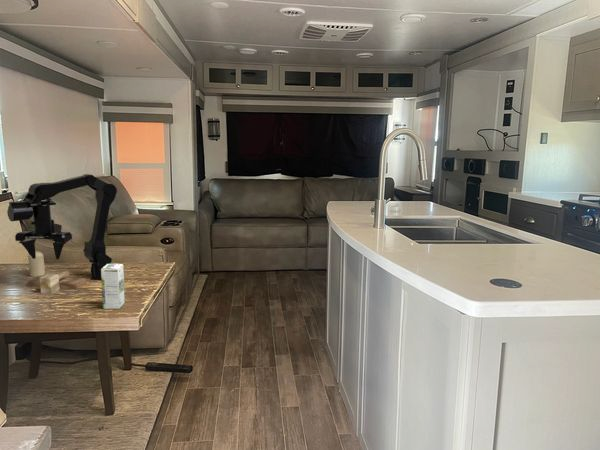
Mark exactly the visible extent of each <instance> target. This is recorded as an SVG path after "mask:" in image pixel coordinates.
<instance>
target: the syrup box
mask: <svg viewBox="0 0 600 450" xmlns="http://www.w3.org/2000/svg"><path fill="white" fill-rule="evenodd" d="M124 273H125V272H124V264H122V263H111V264H107V265H105V266H104V267H103V268H102V269H101V278H102V280H101V294H102V295H101V296H102V309H103V310H117V309H119V310H120V309H121V308H122V307H123V306H124V305H125V303H126V299H125V298H126V297H125V296H126V295H125V294H126V293H125V277H124V276H125V274H124Z"/></svg>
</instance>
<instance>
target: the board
mask: <svg viewBox="0 0 600 450" xmlns="http://www.w3.org/2000/svg"><path fill="white" fill-rule="evenodd" d="M41 277H42V276H38V277H33V278H32V279H30V280H28V281H26V283H27V287H28V288H29V287H31V288H41V287H40V278H41ZM86 284H87V278H83V277H82V278H76V277H63V278H62V279H59V288H60V289H72V290H73V289H74V290H77V289H79V288H81V287H82V286H85V285H86Z"/></svg>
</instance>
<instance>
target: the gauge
mask: <svg viewBox="0 0 600 450" xmlns="http://www.w3.org/2000/svg"><path fill="white" fill-rule="evenodd" d="M69 275H70V271H63V272H61V273H58V274H53V273H47V274H45V275H43V276H40V277H41V278H40V287H39V288H40V294H45V295H47V294H48V295H51V294H54V293H56V292H57V291H60V289H61V288H59V279H62V278H66V277H68V276H69Z"/></svg>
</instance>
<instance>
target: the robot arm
mask: <svg viewBox="0 0 600 450" xmlns="http://www.w3.org/2000/svg"><path fill="white" fill-rule="evenodd" d="M86 186H88V187H89V188H90V189H92V190H93V191H95V200H96V209H95V210H96V211H95V217H94V222H93V227H92V232H91V238H90V240H89V241H85V242H84V248H83V250H82V252H83V254H84V255H83V256H84V257H85V258H86V259H87V260H88V261H89V263H91V266H90V277H89V280H97V281H98V280H101V281H102V278H101V269H102V268H103V267H104V266H105V265H107V264H112V261H113V258H112V257H110V256H109V255H107V247H106V243H105V236H106V230H107V224H108V219H109V218H108V217H109V213H110V207H111V205H112V204H113V202H114V201H115V198H116V196H117V194H118V189H117V187H116V185H115V184H112V183H108V182H106V181H104V180H102V179H100V178H98V177H96V176H94V175H93V174H90V173H84V174H82V175H80V176H79V175H78V176H75V177H71V178H66V179H62V180H59V181H53V182H37V183H33V184H30V185H29V188H28V189H27V190H28V192H27V193H26V195H25V197H24V198H23V199H22V201H8V204H9V205H8V207H7V210H6V213H7V216H8V219H9V221H10V222H18V221H19V222H20V221H27V220H30V219H31V218H32V221H31V222H30V223H31V225H32V226H33V230H23V231H20V232H16V234H15V236H14V238H15V239H14V240H15V242H18V243H19V244H21V245H22V247H24V249H25V250H26V252H28V254H30V255H31V257H32V258H33V259H35V258H36V253H35V251H36V240H37V239H38V240H40V239H41V240H53V241H54V242H53V243H52V247H53V251H54V256H55V259H56V260H60V257H61V255H62V251H63V248H64V246H65V244H66V243H68V242H69V241H71V240H73V234H72V233H71V232H70V231H62V229H63V225H61V224H58V223H55V221H54V219H53V218H52V215H51V214H52V212H51V206H55V205H57V203H56V202H55V201H54V200H52V198H53V197H55V196H57V195H59V194H60V193H63V192H68V191H71V190H75V189H78V188H81V187H86Z"/></svg>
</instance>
